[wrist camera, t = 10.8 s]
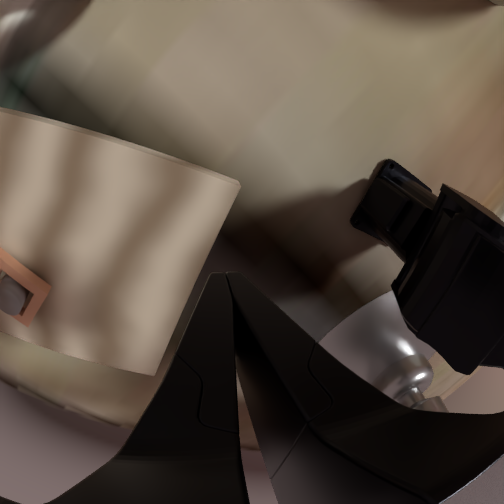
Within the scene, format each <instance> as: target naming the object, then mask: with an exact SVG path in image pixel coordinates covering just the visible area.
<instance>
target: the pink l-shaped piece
mask: <svg viewBox="0 0 504 504" xmlns="http://www.w3.org/2000/svg"><path fill="white" fill-rule="evenodd" d="M2 270H3V271H4V272H5V273H6V274H8V275H9V276H10V277H12V278H13V279H14V280H15V281H17V282H18V283H19V284H21V285H22V286H23V287H25V288H26V289H28V290H29V291H30V292H32V293H33V296H32V298H31V300H30V302H29V303H28V305H27V307H26V309H25V308H24V307H22V309H21V311H20V313H19V314H18V315H15V316H13V315H10V316H12V317H13V318H15V319H16V320H18V321H19V322H20V323H22V324H23V325H25V326H26V327H29V325H30V323H31V322H32V320H33V318H34V316H35V315H36V313H37V311H38V310H39V308H40V306H41V305H42V303H43V301H44V300H45V298H46V297H47V295H48V293H49V291H50V289H51V287H52V286H51V285H49V284H48V283H46V282H45V281H44V280H42V279H41V278H39V277H38V276H37V275H35V274H34V273H33V272H31V271H30V270H29V269H27V268H26V267H25V266H24V265H22V264H21V263H20V262H18V261H17V260H16V259H15V258H13V257H12V256H11V255H10V254H8V253H7V252H6V251H5V250H4V249H2V248H1V247H0V274H1V272H2Z"/></svg>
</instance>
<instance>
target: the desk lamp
mask: <svg viewBox="0 0 504 504" xmlns="http://www.w3.org/2000/svg"><path fill="white" fill-rule="evenodd" d="M319 344H320V345H321V346H322V347H323V348H324V349H326V350H327V351H328V352H329V353H330V354H331V355H333V356H334V357H335V358H336V359H337V360H339V361H340V362H341V363H342V364H344V365H345V366H346V367H348V368H349V369H350V370H352V371H353V372H354V373H356V374H357V375H358V376H360V377H361V378H363V379H364V380H366V381H367V382H368V383H370V384H371V385H373V386H374V387H376V388H377V389H379V390H380V391H381V392H383V393H384V394H386V395H387V396H389V397H390V398H392V399H393V400H395V401H397V402H398V403H400V404H402V405H404V406H407V407H410V408H413V409H417V410H425V411H435V412H447V413H449V411H448V410H447V408H446V406H445V404H444V403H443V401H442V399H441V397H440V396H436V397H432V398H427V399H425V397H424V395H423V394H422V393H423V392H424V391H425V390H426V389H427V388H428V387H429V386H430V384H431V382H432V379H433V375H434V373H433V369H432V366H431V364H430V363H429V361H428V360H429V359H430V358H431V357H432V356H433V354H434V353H435V352H436V350H434V349H433V348H432V347H431V346H429V345H428V344H426V343H425V342H423V341H421V340H419V339H418V338H417V337H416V336H415V334H413V333H412V332H411V331H410V330H409V329H408V328H407V325H406V324H405V322H404V320H403V317H402V315H401V312H400V309H399V306H398V303H397V301H396V298H395V295H394V293H393V290H392V291H390V292H387V293H385V294H384V295H382V296H380V297H378V298H376V299H374V300H373V301H371V302H369V303H368V304H366V305H364V306H363V307H361V308H360V309H358V310H357V311H355V312H354V313H353V314H351V315H350V316H348V317H347V318H346V319H344V320H343V321H342V322H341V323H339V324H338V325H337V326H336V327H334V328H333V329H332V330H331V331H330V332H329V333H328V334H327V335H326V336H324V338H323V339H322V340H321V341H320V342H319Z"/></svg>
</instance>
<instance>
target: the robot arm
mask: <svg viewBox="0 0 504 504" xmlns="http://www.w3.org/2000/svg"><path fill="white" fill-rule="evenodd" d="M390 164H392V165H391V167H389V166H390ZM440 191H441V192H440V194H439V196H438V197H437V196H436V195H434V194H433V193H432V190H431V189H430V188H429V187H427V186H426V185H425V184H424V183H422V182H421V181H420V180H419V179H417V178H416V177H415V176H414V175H412V174H411V173H410V172H409V171H407V170H406V169H405V168H403V167H402V166H401V165H399V164H398V163H397V162H395V161H394V160H392V159H388V160H386V161H385V163H384V165H383V166H382V168H381V170H380V172H379V173H378V175H377V177H376V178H375V180H374V182H373V183H372V185H371V187H370V188H369V190H368V192H367V193H366V195H365V197H364V198H363V200H362V202H361V203H360V205H359V206H358V208H357V210H356V211H355V213H354V214H353V216H352V218H351V220H350V223H351V225H352V226H353V227H354V228H356V229H359V230H361V231H363V232H365V233H367V234H369V235H371V236H373V237H375V238H377V239H379V240H382V241H384V242H385V243H386V244H387V245H388V246H389V247H390V248H391V249H392V250H393V251H394V252H395V253H396V254H397V256H398V257H399V258H400V259H401V260H402V261H403V262H404V263H405V264H404V266H403V268H402V269H401V271H400V273H399V275H398V276H397V278H396V279H395V280H394V281H393V283H392V284H391V288H392V290H393V293H394V295H395V298H396V301H397V303H398V306H399V309H400V312H401V315H402V317H403V320H404V322H405V324H406V325H407V328H408V329H409V330H410V331H411V332H412V333H413V334H415V336H416V337H417V338H418V339H419V340H421V341H423V342H425V343H426V344H428V345H429V346H431V347H432V348H433V349H434V350H436V351H437V352H438V353H439V354H440V355H441V356H442V357H443V358H444V359H445V360H446V362H447V363H448V364H449V365H450V366H451V367H452V368H453V369H454V370H455V371H457V372H460V373H462V374H465V375H470V374H471V373H472V372H473V371H474V370H475V369H476V368H477V367H478V366H488V367H498V368H503V369H504V222H503V221H502V220H501V219H500V218H498V217H497V216H496V215H495V214H494V213H493V212H491V211H490V210H488V209H487V208H486V207H484V206H483V205H481V204H480V203H478V202H477V201H475V200H474V199H472V198H470V197H468V196H466V195H464V194H463V193H461V192H459V191H457V190H455V189H453V188H451V187H449V186H447V185H445V184H442V186H441V189H440ZM356 220H358V221H357V222H356V223H355V221H356ZM315 342H316V341H315V340H314V339H313V338H312V337H311V336H310V335H309V334H308V333H306V332H305V331H304V330H303V329H302V328H301V327H300V326H299V325H298V324H297V323H295V322H294V321H293V320H292V319H291V318H290V317H289V316H288V315H287V314H286V313H284V312H283V311H282V310H281V309H280V308H279V307H278V306H277V305H276V304H275V303H274V302H273V301H271V300H270V299H269V298H268V297H267V296H266V295H265V294H264V293H263V292H262V291H261V290H260V289H258V288H257V287H256V286H255V285H254V284H253V283H252V282H251V281H250V280H249V279H248V278H247V277H246V276H244V275H243V274H242V273H241V272H239V271H237V272H227V273H226V274H225V273H224V272H212V273H210V275H209V277H208V279H207V281H206V283H205V286H204V288H203V290H202V292H201V295H200V297H199V299H198V301H197V304H196V306H195V308H194V310H193V313H192V315H191V317H190V319H189V322H188V324H187V326H186V329H185V331H184V333H183V335H182V338H181V340H180V342H179V345H178V347H177V349H176V352H175V355H174V356H173V358H172V361H171V363H170V365H169V368H168V370H167V372H166V374H165V376H164V378H163V380H162V382H161V384H160V386H159V388H158V389H157V391H156V393H155V395H154V397H153V398H152V400H151V402H150V403H149V405H148V406H147V408H146V410H145V411H144V413H143V415H142V416H141V418H140V419H139V421H138V423H137V424H136V426H135V428H134V429H133V431H132V433H131V434H130V436H129V438H128V439H127V441H126V442H125V444H124V445H123V446H122V448H121V449H120V450H119V451H118V453H117V454H116V455H115V456H114V457H113V458H112V459H111V460H110V461H109V462H107V463H106V464H105V465H103V466H102V467H100V468H99V469H98V470H96V471H95V472H93V473H92V474H91V475H89V476H88V477H86V478H85V479H84V480H82V481H81V482H79V483H78V484H76V485H75V486H73V487H72V488H71V489H69V490H68V491H66V492H65V493H63V494H62V495H60V496H59V497H57V498H56V499H54V500H52V501H50V502H48V503H44V504H250V502H249V497H248V493H247V487H246V482H245V476H244V471H243V465H242V459H241V449H240V437H239V419H238V401H237V382H236V370H237V374H238V377H239V381H240V384H241V388H242V391H243V395H244V398H245V401H246V405H247V408H248V411H249V415H250V418H251V421H252V425H253V428H254V431H255V434H256V437H257V441H258V444H259V447H260V450H261V453H262V456H263V459H264V462H265V465H266V468H267V471H268V474H269V477H270V479H271V483H272V486H273V489H274V492H275V495H276V498H277V501H278V504H504V411H503V412H500V413H495V414H463V413H462V414H461V413H447V412H435V411H425V410H417V409H413V408H410V407H407V406H404V405H402V404H400V403H398V402H397V401H395V400H393V399H392V398H390V397H389V396H387V395H386V394H384V393H383V392H381V391H380V390H379V389H377V388H376V387H374V386H373V385H371V384H370V383H368V382H367V381H366V380H364V379H363V378H361V377H360V376H358V375H357V374H356V373H354V372H353V371H352V370H350V369H349V368H348V367H346V366H345V365H344V364H342V363H341V362H340V361H339V360H337V359H336V358H335V357H334V356H333V355H331V354H330V353H329V352H328V351H327V350H326V349H324V348H323V347H322V346H321V345H320V344H319V343H318V342H316V343H315ZM0 504H20V503H17V502H14V501H12V500H9V499H6V498H4V497H1V496H0Z"/></svg>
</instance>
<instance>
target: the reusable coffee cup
mask: <svg viewBox="0 0 504 504" xmlns="http://www.w3.org/2000/svg"><path fill="white" fill-rule="evenodd" d="M489 1H491V2H492V3H494V4H497V5H501V6H504V0H489Z"/></svg>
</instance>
